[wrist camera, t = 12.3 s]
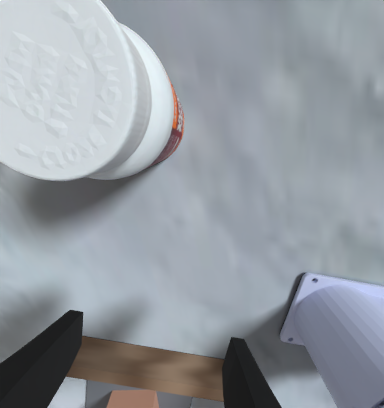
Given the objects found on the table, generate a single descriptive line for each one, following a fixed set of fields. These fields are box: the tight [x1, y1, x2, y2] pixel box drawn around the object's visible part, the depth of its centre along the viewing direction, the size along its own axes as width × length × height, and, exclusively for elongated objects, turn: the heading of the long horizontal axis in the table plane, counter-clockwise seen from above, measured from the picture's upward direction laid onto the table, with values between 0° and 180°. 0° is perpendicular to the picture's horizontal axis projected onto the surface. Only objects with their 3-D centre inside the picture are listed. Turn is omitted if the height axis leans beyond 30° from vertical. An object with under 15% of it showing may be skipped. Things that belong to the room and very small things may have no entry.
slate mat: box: [86, 380, 192, 408], centre depth 25 cm, size 12×12×1 cm
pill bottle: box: [0, 0, 184, 181], centre depth 11 cm, size 6×6×11 cm
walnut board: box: [66, 336, 224, 402], centre depth 21 cm, size 20×2×3 cm, turn 79°
